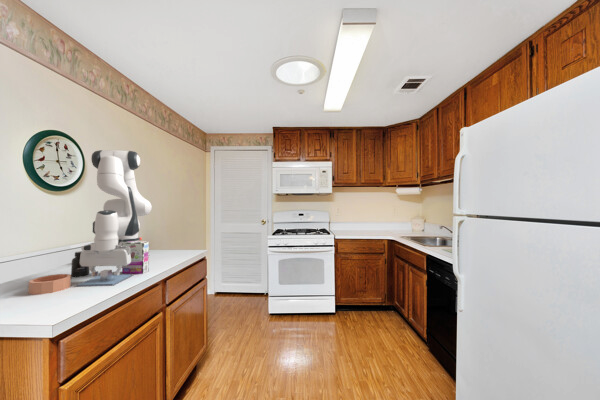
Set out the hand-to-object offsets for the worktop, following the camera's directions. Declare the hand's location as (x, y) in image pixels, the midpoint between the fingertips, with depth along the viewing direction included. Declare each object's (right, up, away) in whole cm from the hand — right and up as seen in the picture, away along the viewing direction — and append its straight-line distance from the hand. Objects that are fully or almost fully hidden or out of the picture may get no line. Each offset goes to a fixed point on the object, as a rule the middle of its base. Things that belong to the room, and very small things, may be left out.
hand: (105, 275), depth 113 cm
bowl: (-14, -3, -11) cm, 18 cm away
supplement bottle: (-19, -3, +8) cm, 21 cm away
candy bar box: (+5, -3, +14) cm, 15 cm away
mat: (0, -3, 0) cm, 3 cm away
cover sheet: (0, -2, 0) cm, 2 cm away
